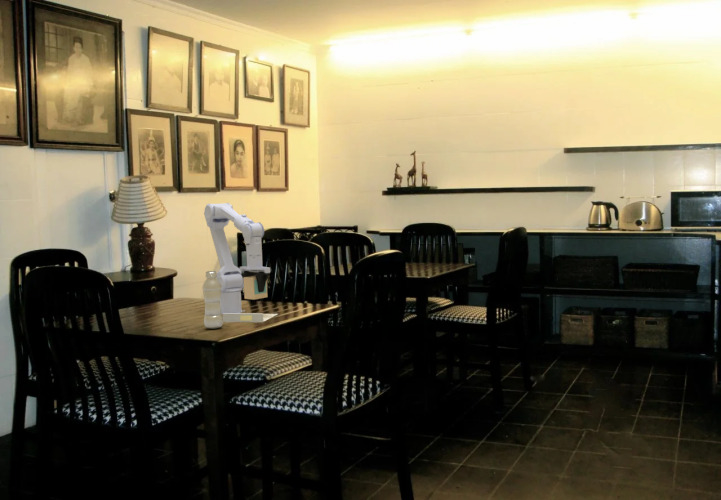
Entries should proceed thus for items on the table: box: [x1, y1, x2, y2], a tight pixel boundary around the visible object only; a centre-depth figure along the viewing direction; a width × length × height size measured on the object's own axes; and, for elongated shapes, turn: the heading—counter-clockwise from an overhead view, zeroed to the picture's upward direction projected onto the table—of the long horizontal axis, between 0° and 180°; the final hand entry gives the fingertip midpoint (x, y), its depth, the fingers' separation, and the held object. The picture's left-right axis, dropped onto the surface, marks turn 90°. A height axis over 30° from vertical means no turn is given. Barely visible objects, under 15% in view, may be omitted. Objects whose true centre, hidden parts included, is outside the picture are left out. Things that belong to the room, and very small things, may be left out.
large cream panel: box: [222, 312, 278, 323], centre depth 272 cm, size 15×18×4 cm
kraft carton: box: [243, 276, 268, 301], centre depth 274 cm, size 5×7×8 cm
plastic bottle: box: [202, 270, 224, 330], centre depth 255 cm, size 6×7×20 cm
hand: (255, 291), depth 275 cm, fingers closed on kraft carton, 5 cm apart
